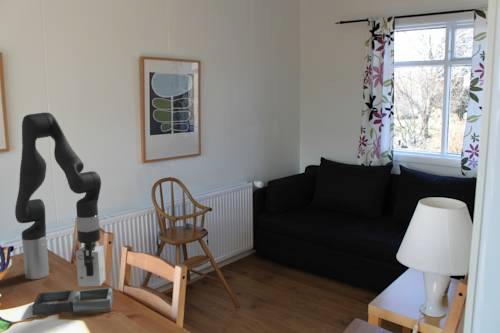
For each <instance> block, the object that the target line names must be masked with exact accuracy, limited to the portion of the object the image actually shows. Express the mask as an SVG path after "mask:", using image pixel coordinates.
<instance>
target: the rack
mask: <svg viewBox="0 0 500 333" xmlns="http://www.w3.org/2000/svg"><path fill="white" fill-rule="evenodd" d="M113 303H114V293H113V287H112V286H111V287H110V286H108V287H100V288H89V289H81V290H80V289H79V290H77V291H76V292H75V298H74V301H73V306H72V316H73V317H74V316H82V315H92V314H93V315H94V314H101V313H109V312H112V309H113Z"/></svg>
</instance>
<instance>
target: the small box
mask: <svg viewBox="0 0 500 333" xmlns="http://www.w3.org/2000/svg"><path fill="white" fill-rule="evenodd" d="M83 247H84V246H83V245H82V246H81V247H79V249H77V250H76V251H75V263H76V264H75V265H76V275H77V276H76V277H77V287H101V286H102V285H103V283H104V282H105V280H106V277H107V276H106V264H105V253H104V249H105V248H104V245H96V248H95V250H94V251H93V250H92V256H93V257H94V259H93V276H87V272H86V267H85V266H84V253H83ZM87 263H90V260H87Z"/></svg>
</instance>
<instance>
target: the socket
mask: <svg viewBox="0 0 500 333" xmlns="http://www.w3.org/2000/svg"><path fill="white" fill-rule="evenodd" d="M75 296H76V292H75V289H69V290H68V289H65V290H57V291H56V290H55V291H46V292H39V293H38V294H37V296H36V297H35V300H34V302H33V303H32V305H31V312H32V313H31V314H32V316H42V315H50V314H51V315H52V314H61V313H68V312H69V313H70V312H71V311H72V310H73V301H74V298H75Z"/></svg>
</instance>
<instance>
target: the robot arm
mask: <svg viewBox="0 0 500 333" xmlns="http://www.w3.org/2000/svg"><path fill="white" fill-rule="evenodd" d="M49 137H50V138H51V139H53V141H54V153H53V154H54V159H55V162H56V163H57V165H58V166H59V167H60V169H61V170H62V171H63V173H64V174H65V178H66V180H67V184H68V187H69V189H70V191H72V192H73V193H74V194H78V195H81V194H85V195H84V196H83V197H82V198H80V199H78V200H77V201H76V202H75V203H76V206H75V207H76V229H77V232H76V233H77V241H78V243H80V244H84V247H83V253H84V266H85V267H86V272H87V276H93V259H94V257H93V256H92V250H93V251H94V250H95V248H96V246H97V244H96V242H98V241H100V239H101V232H100V231H101V230H100V218H99V211H98V210H99V209H98V203H99V198H100V196H99V195H100V193H101V192H100V191H101V188H102V181H101V177H100V175H99V174H98V173H97V172H96V171H92V170H91V171H86V172H85V171H84V172H82V171H83V170H84V167H85V166H84V163H83V161H82V160H81V158H80V157H79V156H78V155H77V153H76V152H75V151H74V150H73V148H72V146H71V145H70V143H69V141H68V140H67V137H66V135H65V133H64V131H63V129H62V128H61V125H60V124H59V122H58V120H57V118H56V117H55V116H54V115H53V114H51V113H50V112H39V113H30V114H26V115H24V117H23V118H22V122H21V142H22V143H21V145H22V146H21V147H22V148H21V158H20V166H19V167H20V168H19V181H18V185H19V186H18V192H17V196H16V197H17V199H16V202H15V210H14V216H15V219H16V221H17V223H19V224H27V223H28V224H29V223H33V224H32V225H30V226H29V227H27V228H25V229H24V230H22V232H21V241H22V252H23V262H24V263H23V264H24V272H25V273H24V274H25V279H28V280H38V279H39V280H40V279H42V278H45V277H48V276H49V274H50V266H49V256H48V255H49V254H48V242H47V233H46V231H47V226H46V207H45V203H44V201H43V199H41V198H36V199H31V197H32V196H33V195H34V194H35V193H36V191H37V190H39V188H40V187H41V186H42V185H43V183H44V181H45V178H46V173H47V162H46V161H45V158H43V156H42V155H41V154H40V152H39V151H38V150H37V147H36V145H37V144H36V142H37V140H38V139H42V138H49ZM87 260H90V263H87Z"/></svg>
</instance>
